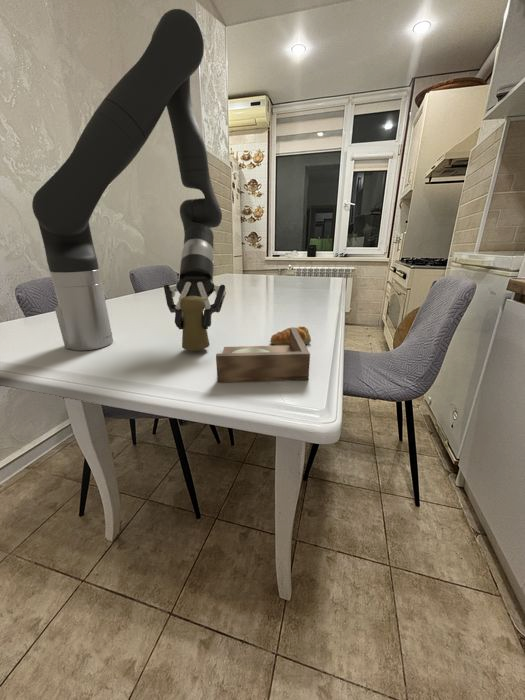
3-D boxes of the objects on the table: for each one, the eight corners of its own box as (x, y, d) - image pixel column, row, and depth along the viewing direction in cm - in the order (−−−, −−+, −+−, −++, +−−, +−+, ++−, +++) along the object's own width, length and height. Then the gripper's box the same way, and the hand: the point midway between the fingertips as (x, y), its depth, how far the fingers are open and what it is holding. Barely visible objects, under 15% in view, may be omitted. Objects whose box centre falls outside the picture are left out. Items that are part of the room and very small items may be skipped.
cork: (212, 341, 67) (209, 294, 63) (205, 350, 62) (201, 299, 58) (187, 340, 68) (183, 293, 64) (177, 349, 62) (172, 298, 58)
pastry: (277, 350, 66) (277, 334, 64) (265, 342, 71) (265, 327, 70) (313, 344, 69) (313, 329, 68) (298, 337, 75) (299, 322, 74)
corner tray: (217, 382, 51) (215, 356, 49) (224, 350, 65) (223, 328, 64) (308, 380, 51) (310, 353, 49) (294, 348, 66) (295, 327, 64)
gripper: (162, 252, 64) (153, 319, 58) (226, 252, 65) (225, 318, 58) (170, 274, 71) (163, 336, 64) (228, 274, 72) (227, 335, 65)
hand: (192, 327), depth 61 cm, fingers closed on cork, 4 cm apart
